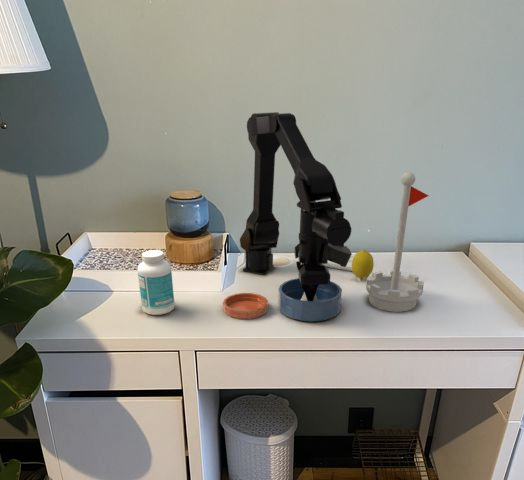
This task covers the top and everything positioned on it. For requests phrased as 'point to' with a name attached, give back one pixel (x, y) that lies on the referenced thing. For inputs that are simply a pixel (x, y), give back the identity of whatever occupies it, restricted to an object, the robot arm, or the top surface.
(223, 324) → the top surface
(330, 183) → the robot arm
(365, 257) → the lemon
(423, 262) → the top surface
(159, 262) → the pill bottle
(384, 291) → the flag stand
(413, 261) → the top surface
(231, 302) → the orange round lid
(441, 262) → the top surface
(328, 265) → the hard drive
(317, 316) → the bowl
